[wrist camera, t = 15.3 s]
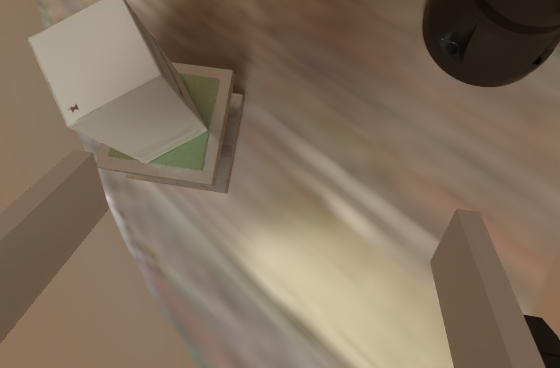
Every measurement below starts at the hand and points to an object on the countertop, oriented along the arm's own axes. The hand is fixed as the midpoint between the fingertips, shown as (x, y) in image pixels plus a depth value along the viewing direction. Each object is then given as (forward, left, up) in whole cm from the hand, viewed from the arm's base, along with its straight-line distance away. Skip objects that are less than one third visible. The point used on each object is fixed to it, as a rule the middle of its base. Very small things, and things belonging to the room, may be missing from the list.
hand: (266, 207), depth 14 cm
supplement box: (-9, -14, -21) cm, 27 cm away
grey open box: (-9, -14, -30) cm, 34 cm away
